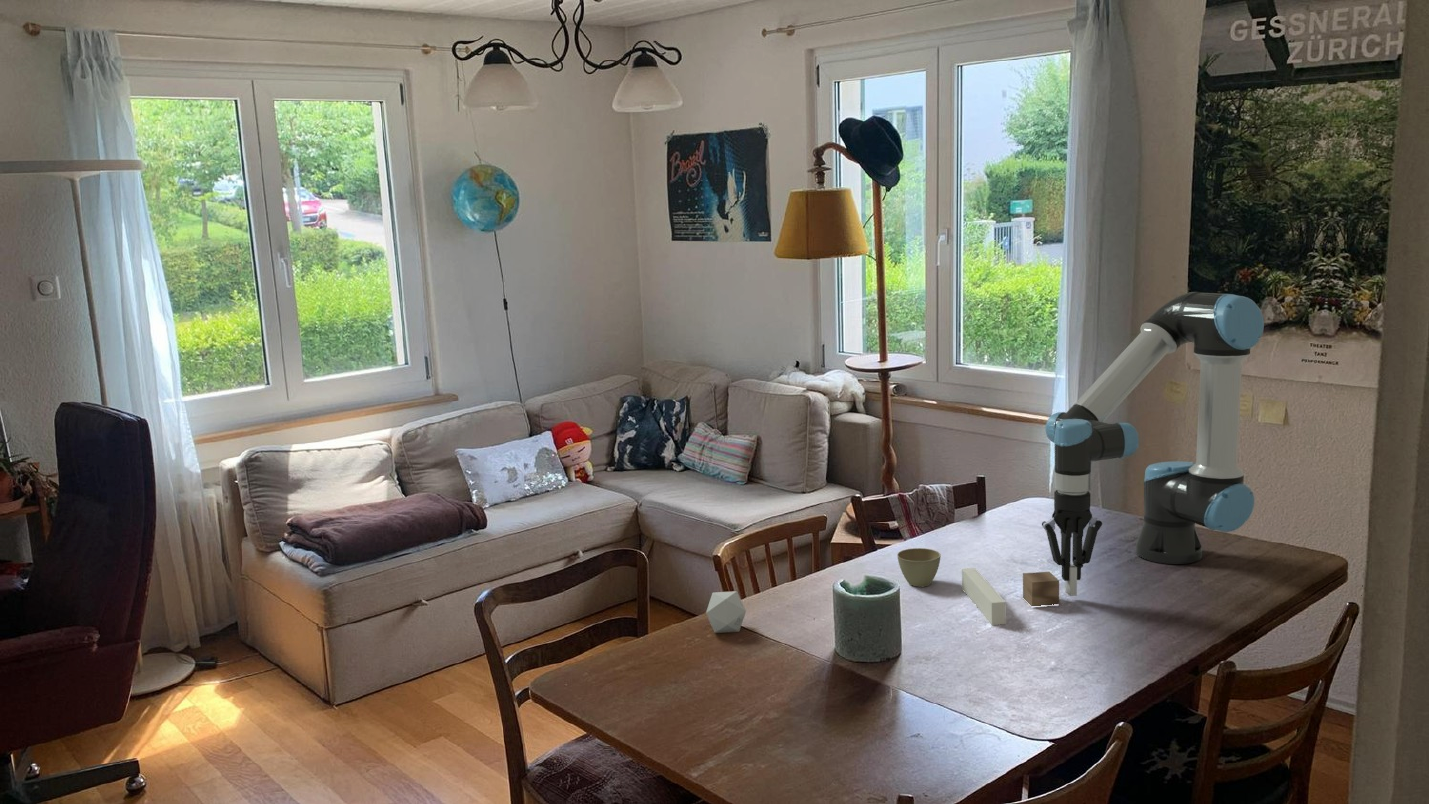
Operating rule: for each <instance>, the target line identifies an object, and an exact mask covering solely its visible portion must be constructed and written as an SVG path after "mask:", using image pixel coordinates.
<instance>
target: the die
mask: <svg viewBox="0 0 1429 804" xmlns="http://www.w3.org/2000/svg"><path fill="white" fill-rule="evenodd" d="M708 602H709V603H708V606H707V608H706V611H705V615H706V617H707V619H708V621H709V624H710V626H711V628H712V630H713V632H714V634H720V633H739V632H740V630H741V627H742V623H743V621H744V619H745V615H746V612H747V610H746V608H745V605H744V604H743V601H742V598H741V596H740V595H739V593H738V591H737V590H736V591H735V590H733V591H717V592H716V591H715V592H712V593H711V597H710V600H709V601H708Z"/></svg>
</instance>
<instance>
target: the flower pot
mask: <svg viewBox="0 0 1429 804" xmlns="http://www.w3.org/2000/svg"><path fill="white" fill-rule="evenodd" d="M896 555H897V556H896V557H897V561H898V562H897V563H898V565H899V568H900V570H901V574H902V575H903V577H904V579H905V581H906V582H907V583H908V584H909V586H911V585H913V586H912V587H915V586H920V587H919V588H923V587H922V586H925V587H927V586H930V585H931V584H932V582H933V581H934V579H935V577H936V574H937V573H938V569H939V567H940V562H941V555H942V554H941V552H940V551H937V550H935V549H930V548H924V547H923V548H922V547H915V548H906V549H903V550H900V551H899V552H897V554H896ZM929 584H930V585H929Z"/></svg>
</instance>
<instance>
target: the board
mask: <svg viewBox="0 0 1429 804" xmlns="http://www.w3.org/2000/svg"><path fill="white" fill-rule="evenodd" d="M962 589H963V590H964V591H965V593H966V594H967V595H968V596H967V595H966V594H965V593H964V594H965V595H966V596H967V597H968V599H969V598H970V599H971V600H972V601H971V600H970V599H969V600H970V601H971V602H972V604H973V605H974V604H976V606H977V607H978V608H979V609H978V608H977V607H976V606H975V607H976V608H977V609H978V611H979V610H980V611H981V612H982V613H983V614H982V613H981V612H980V611H979V612H980V613H981V614H982V616H983V617H984V616H985V617H986V618H987V619H986V618H985V617H984V618H985V619H986V621H989V622H988V623H989V624H990V626H1001V625H1000V624H1005V625H1006V624H1007V620H1006V619H1007V618H1006V617H1007V611H1006V608H1007V606H1006V604H1007V602H1006V600H1005V599H1004V598H1003V597H1002V596H1001V595H1000V594H999V593H998V592H997V590H996V589H995V588H994V587H993V586H992V584H991V583H989V581H987V579H985V578H984V576H983V575H982V574H981V573H980V572H979V571H978V570H977V569H976V568H974V567H971V568H970V567H969V568H961V590H962ZM963 590H962V591H963ZM964 591H963V592H964ZM998 624H999V625H998Z"/></svg>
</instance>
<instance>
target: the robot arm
mask: <svg viewBox="0 0 1429 804" xmlns="http://www.w3.org/2000/svg"><path fill="white" fill-rule="evenodd" d="M1264 322H1265V321H1264V315H1263V313H1262V310H1261V308H1260V307H1259V306H1258V305H1257V304H1256V303H1255V301H1254V300H1253V299H1251V298H1250V297H1246V296H1243V295H1236V294H1233V293H1216V292H1215V293H1214V292H1211V293H1210V292H1203V291H1202V292H1201V291H1191V292H1187V293H1183V294H1180V295H1178V296H1176V297H1174V298H1172V299H1170V300H1168V301H1167V302H1165V303H1164V304H1163V305H1161V306H1160V307H1159V308H1158V309H1157V310H1156V311H1155V312H1153V313H1151V315H1150V316H1149V317H1148V318H1147V319H1146V320H1145V321H1144V322H1143V323H1142V324H1141V326H1140V333H1139V334H1138V335H1136V337H1135V338H1134V339H1133V341H1132V342H1130V343H1129V344H1128V346H1127V347H1126V348H1125V349H1124V350H1123V351H1122V352H1121V353H1120V354H1119V355H1118V356H1117V357H1116V358H1115V360H1114V361H1112V363H1111V364H1109V366H1108V367H1107V369H1105V370H1104V372H1102V374H1101V375H1100V376H1098V377H1097V379H1096V380H1095V381H1094V383H1092V385H1091V386H1089V388H1087V390H1086V391H1085V392H1083V394H1082V395H1081V396H1080V397H1079V399H1078V400H1076V402H1075V403H1074V404H1073V405H1072V406H1070V408H1069V409H1068V410H1067V411H1066V412H1065V411H1063V412H1061V411H1058V412H1055V413H1052V414H1051V415H1050V417H1049V418H1048V419H1047V421H1046V423H1045V434H1046V437H1047V438H1048V440H1049V441H1050V442H1052V443H1054V483H1053V484H1054V489H1055V490H1054V493H1053V495H1054V497H1053V501H1054V503H1053V506H1054V511H1053V513H1052V515H1051V518H1050V519H1048V520H1047V521H1042V523H1041V526H1042V528H1043V529H1044V530H1045V532H1046V536H1047V540H1048V544H1049V549H1050V553H1051V556H1052V560H1053V562H1054V563H1056V565H1058V566H1061V579H1062V580H1063V581H1064V582H1065V589H1064V590H1065V593H1066V594H1067V595H1068V596H1069V597H1077V596H1078V594H1077V593H1078V581H1081V579H1082V568H1083V567H1084V564H1089V563H1090V562H1091V558H1092V554H1093V551H1094V546H1095V542H1096V539H1097V535H1098V532H1099V530H1100V529H1101V527H1102V525H1103V522H1102V521H1101V520H1099V519H1098V518H1096V517H1094V516H1093V513H1092V512H1091V494H1092V493H1091V492H1090V490H1091V488H1092V487H1091V485H1092V483H1091V482H1092V479H1091V477H1092V475H1091V474H1092V462H1098V461H1105V460H1113V459H1123V458H1125V457H1128V456H1132V455H1134V454H1135V453H1136V452H1137V450H1138V448H1139V446H1140V445H1139V444H1140V440H1139V438H1140V436H1139V433H1138V430H1137V429H1136V427H1134V426H1133V424H1131V423H1128V422H1119V421H1118V422H1117V421H1116V422H1115V423H1107V422H1105V421H1106V420H1107V419H1108V417H1109V416H1110V415H1112V413H1113V412H1114V411H1116V409H1117V408H1118V407H1119V406H1120V404H1121V403H1122V402H1123V401H1124V400H1125V399H1126V398H1127V397H1128V396H1129V395H1130V394H1131V392H1133V390H1134V389H1135V388H1136V387H1138V386H1139V384H1140V383H1141V382H1142V381H1143V380H1144V379H1145V377H1147V376H1148V374H1149V373H1150V372H1152V370H1153V369H1154V368H1155V367H1156V366H1157V365H1158V363H1159V362H1161V360H1162V359H1163V358H1164V357H1165V356H1166V355H1167V354H1173V353H1175V352H1176V351H1177V350H1178V348H1179V347H1181V346H1182V345H1185V344H1187V343H1193V355H1194V356H1195V357H1196V358H1197V359H1198V360H1199V362H1200V366H1199V367H1200V368H1199V370H1200V371H1199V373H1200V374H1199V392H1198V414H1197V433H1196V438H1197V439H1196V457H1195V461H1196V462H1192V461H1181V460H1180V461H1174V460H1173V461H1161V462H1156V463H1152V464H1149V465H1148V466H1147V467H1146V469H1145V471H1144V472H1145V473H1144V479H1143V524H1142V526H1141V529H1140V532H1139V534H1138V537H1137V540H1136V542H1135V554H1136V553H1137V554H1136V555H1137V556H1138V555H1139V556H1140V558H1141V557H1142V558H1141V559H1143V558H1144V560H1146V559H1147V560H1146V561H1149V562H1154V563H1158V564H1166V565H1168V564H1169V565H1184V564H1192V563H1196V562H1199V561H1200V560H1202V557H1203V546H1202V543H1201V541H1200V537H1199V534H1198V531H1197V527H1196V525H1199V526H1202V527H1205V528H1207V529H1209V530H1212V531H1218V532H1219V531H1220V532H1223V533H1230V532H1235V531H1236V530H1238V529H1240V528H1241V527H1242V526H1244V525H1245V523H1246V522H1247V521H1249V519H1250V517H1251V515H1252V513H1253V511H1254V507H1255V496H1254V495H1255V494H1254V493H1253V491H1252V489H1251V488H1250V487H1248V486H1247V485H1246V484H1244V482H1245V481H1244V480H1245V479H1244V478H1245V474H1244V473H1245V472H1244V471H1243V469H1242V468H1240V467H1239V466H1238V453H1239V452H1238V451H1239V431H1240V412H1241V411H1240V409H1241V408H1240V407H1241V393H1242V373H1243V370H1242V369H1243V362H1244V361H1245V360H1246V359H1248V357H1250V355H1251V348H1253V347H1255V346H1256V345H1257V344H1258V343H1259V342H1260V339H1261V338H1262V336H1263V334H1264V328H1265V323H1264ZM1056 525H1057V527H1058V528H1059V529H1060V535H1061V536H1060V537H1061V538H1060V539H1061V540H1060V541H1061V543H1060V545H1061V546H1059V542H1058V538H1057V534H1056V532H1055V530H1056ZM1087 525H1088V527H1087ZM1086 527H1087V530H1086V534H1085V537H1084V530H1085V528H1086ZM1083 537H1084V542H1083ZM1071 544H1072V545H1071ZM1071 547H1072V548H1071ZM1071 550H1072V551H1071ZM1071 552H1072V557H1071ZM1139 556H1138V557H1139ZM1071 558H1072V563H1071Z"/></svg>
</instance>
